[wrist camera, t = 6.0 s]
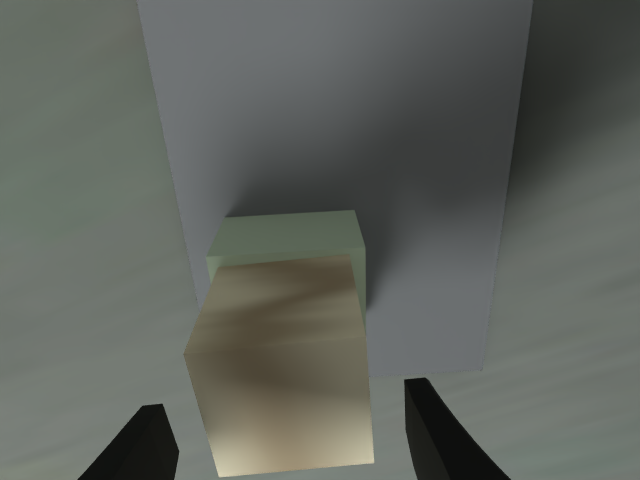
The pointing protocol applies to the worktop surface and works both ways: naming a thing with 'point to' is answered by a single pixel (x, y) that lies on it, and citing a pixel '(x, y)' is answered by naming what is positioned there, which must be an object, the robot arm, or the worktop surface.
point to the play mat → (353, 144)
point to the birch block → (283, 367)
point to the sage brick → (291, 242)
